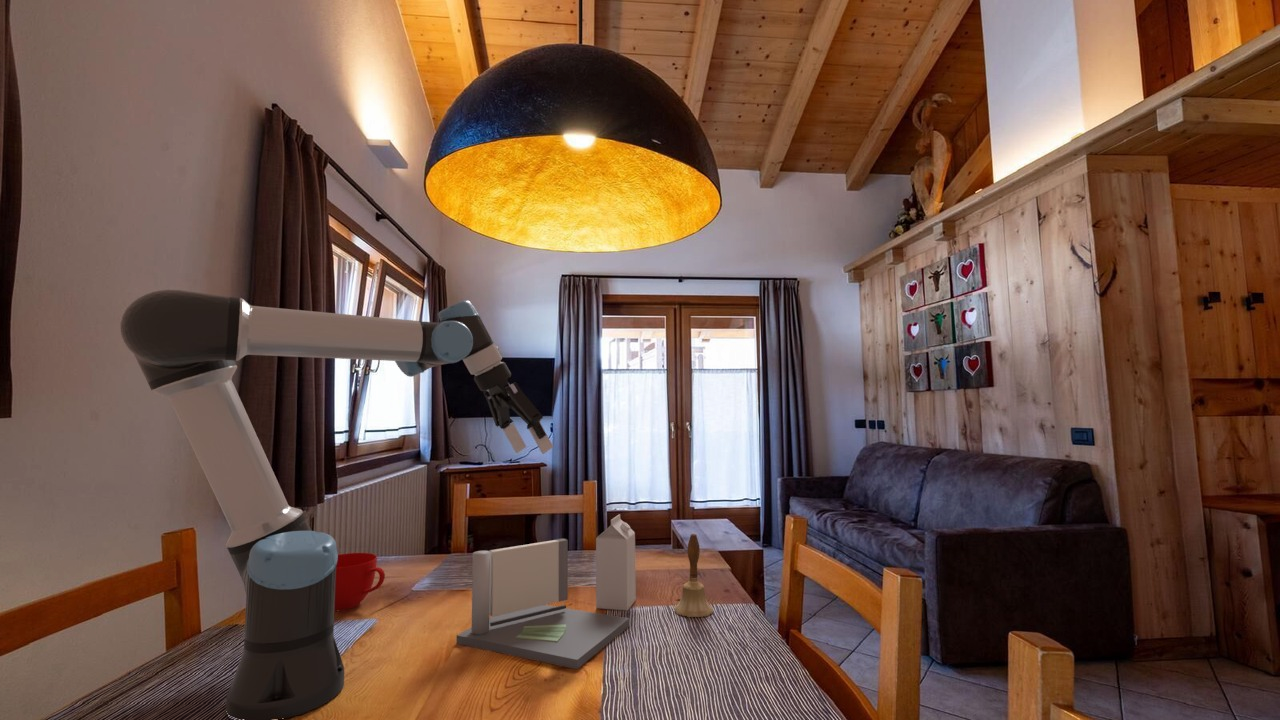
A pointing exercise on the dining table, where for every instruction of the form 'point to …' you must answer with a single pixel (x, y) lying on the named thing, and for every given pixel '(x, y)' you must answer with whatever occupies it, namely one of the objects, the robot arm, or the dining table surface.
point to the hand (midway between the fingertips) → (534, 450)
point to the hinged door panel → (518, 581)
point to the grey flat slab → (549, 635)
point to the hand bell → (693, 587)
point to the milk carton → (615, 566)
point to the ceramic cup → (355, 579)
